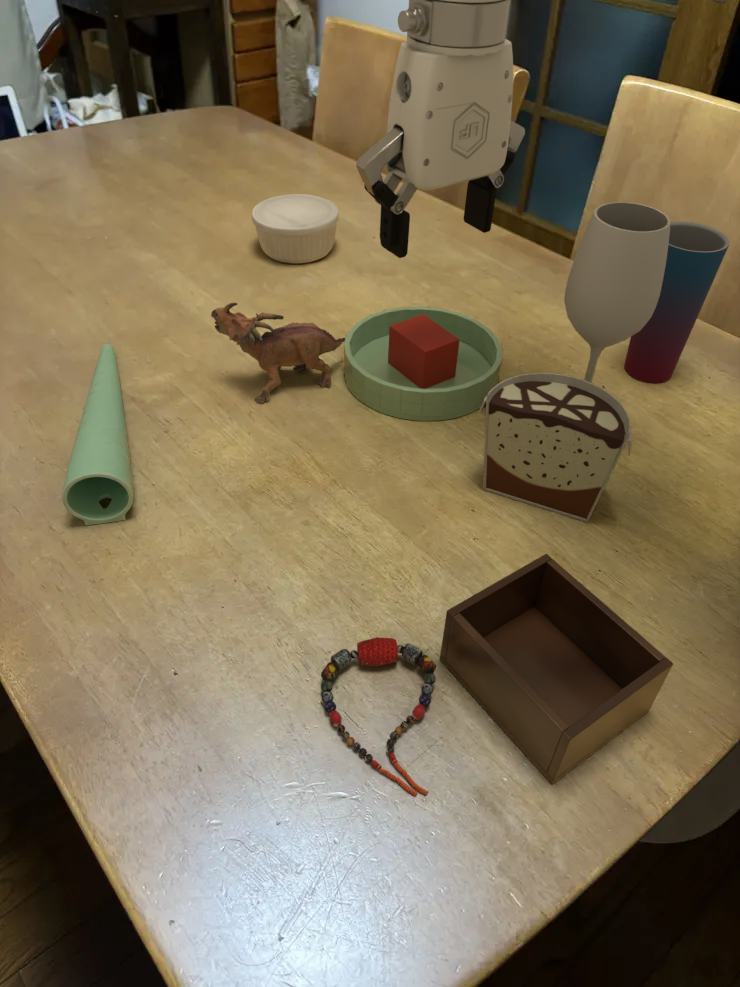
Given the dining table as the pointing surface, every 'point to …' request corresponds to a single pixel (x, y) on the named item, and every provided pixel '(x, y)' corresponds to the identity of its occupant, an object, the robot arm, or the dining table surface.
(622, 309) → the wineglass
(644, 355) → the cup
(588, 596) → the box
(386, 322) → the bowl
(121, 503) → the mint green cone
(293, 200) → the ramekin
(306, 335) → the dinosaur figurine
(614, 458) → the cake cutout
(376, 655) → the necklace
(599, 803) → the dining table surface
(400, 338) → the block
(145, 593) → the dining table surface
